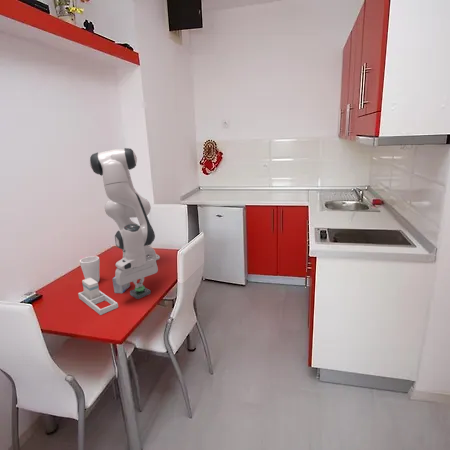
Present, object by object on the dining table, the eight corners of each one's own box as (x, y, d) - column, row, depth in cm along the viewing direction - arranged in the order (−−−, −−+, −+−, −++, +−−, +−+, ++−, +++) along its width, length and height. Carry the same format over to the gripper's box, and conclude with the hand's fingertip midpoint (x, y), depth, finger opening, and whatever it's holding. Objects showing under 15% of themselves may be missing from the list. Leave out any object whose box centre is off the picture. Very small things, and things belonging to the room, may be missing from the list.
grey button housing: (143, 291, 158) (142, 285, 157) (151, 296, 153) (150, 290, 152) (130, 296, 153) (129, 291, 152) (138, 301, 148) (137, 295, 148)
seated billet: (93, 294, 155) (90, 277, 153) (100, 300, 150) (98, 282, 147) (84, 297, 153) (81, 280, 150) (92, 303, 147) (89, 285, 145)
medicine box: (122, 295, 155) (120, 278, 153) (114, 294, 156) (112, 278, 154) (130, 287, 163) (128, 271, 160) (122, 287, 164) (120, 271, 161)
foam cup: (83, 287, 164) (79, 264, 161) (83, 281, 172) (79, 258, 169) (103, 283, 168) (99, 260, 164) (101, 277, 176) (98, 254, 173)
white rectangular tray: (95, 292, 158) (94, 287, 158) (118, 309, 142) (117, 303, 141) (79, 299, 153) (78, 293, 152) (100, 316, 137) (99, 310, 136)
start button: (142, 292, 156) (141, 284, 155) (147, 294, 153) (146, 286, 152) (134, 295, 153) (133, 287, 152) (138, 298, 150) (137, 290, 149)
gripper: (151, 252, 157) (154, 278, 161) (111, 264, 143) (115, 292, 147) (158, 255, 153) (161, 281, 156) (118, 268, 139) (122, 297, 143)
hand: (139, 287), depth 152 cm, fingers closed, pressing on start button
